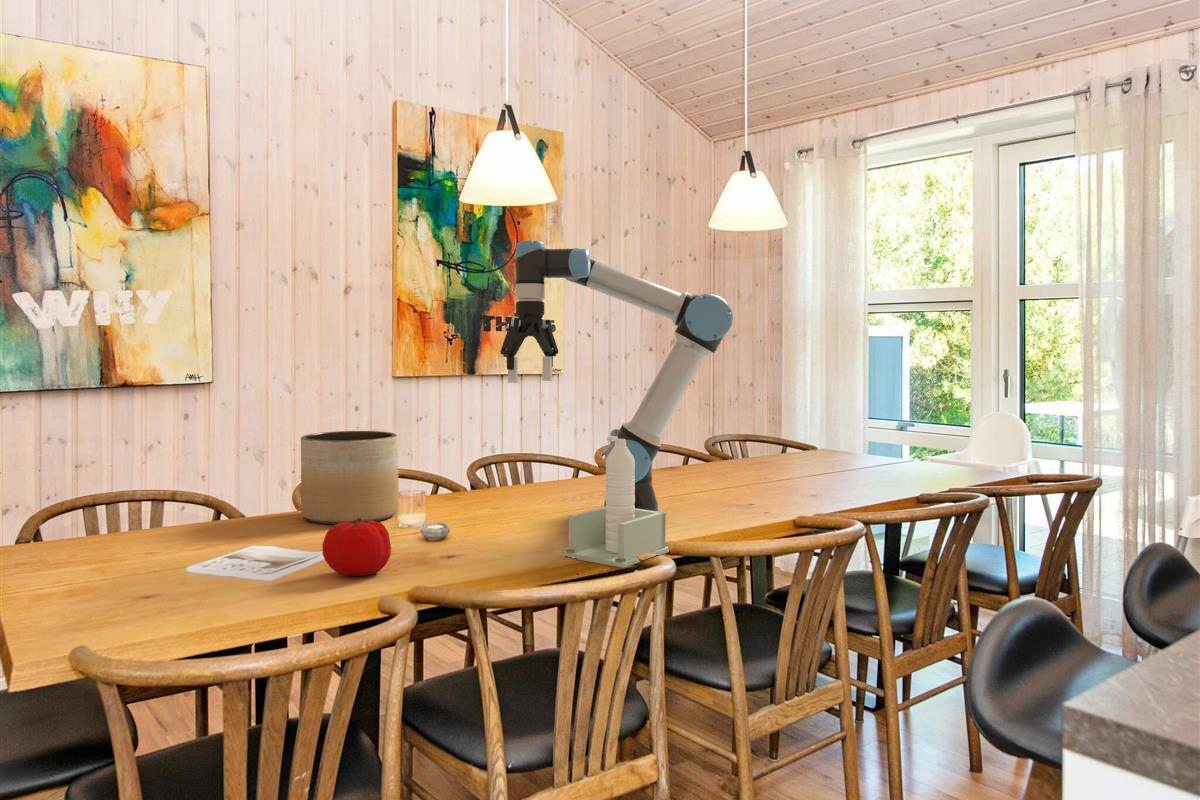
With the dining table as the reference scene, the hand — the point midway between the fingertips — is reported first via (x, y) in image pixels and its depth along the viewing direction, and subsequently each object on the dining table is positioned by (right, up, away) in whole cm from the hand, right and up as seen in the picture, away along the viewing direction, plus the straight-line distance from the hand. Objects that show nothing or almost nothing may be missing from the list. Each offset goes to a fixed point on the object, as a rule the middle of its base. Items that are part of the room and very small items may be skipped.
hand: (530, 381), depth 232 cm
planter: (-49, -37, +6) cm, 61 cm away
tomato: (-31, -41, -53) cm, 74 cm away
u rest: (+22, -39, -36) cm, 58 cm away
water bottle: (+22, -38, -36) cm, 57 cm away
